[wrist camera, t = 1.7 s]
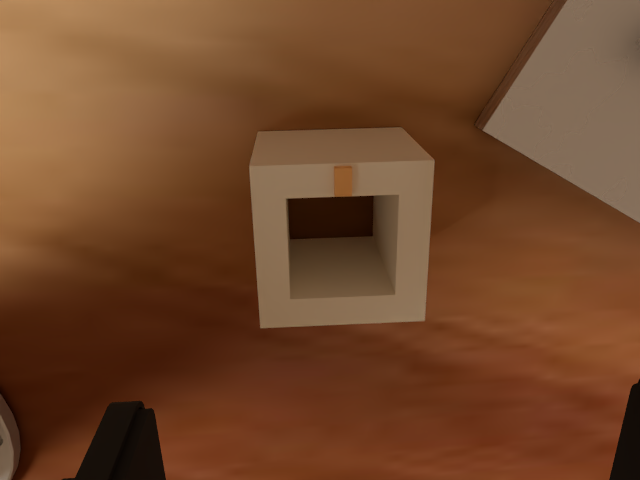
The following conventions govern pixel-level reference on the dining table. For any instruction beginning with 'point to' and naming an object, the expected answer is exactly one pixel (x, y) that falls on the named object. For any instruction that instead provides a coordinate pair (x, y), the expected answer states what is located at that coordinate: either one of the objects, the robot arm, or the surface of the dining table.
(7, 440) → the robot arm
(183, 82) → the dining table surface
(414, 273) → the hollow square tube
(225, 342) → the dining table surface
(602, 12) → the square peg base
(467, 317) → the dining table surface
